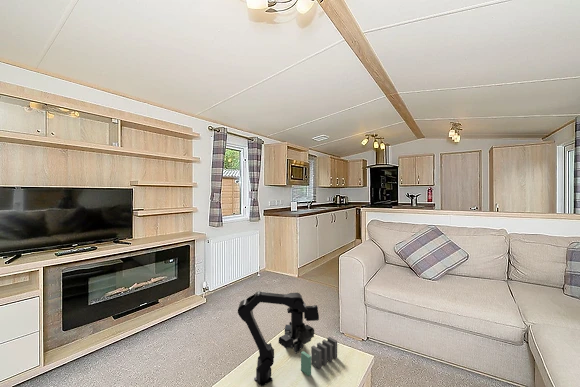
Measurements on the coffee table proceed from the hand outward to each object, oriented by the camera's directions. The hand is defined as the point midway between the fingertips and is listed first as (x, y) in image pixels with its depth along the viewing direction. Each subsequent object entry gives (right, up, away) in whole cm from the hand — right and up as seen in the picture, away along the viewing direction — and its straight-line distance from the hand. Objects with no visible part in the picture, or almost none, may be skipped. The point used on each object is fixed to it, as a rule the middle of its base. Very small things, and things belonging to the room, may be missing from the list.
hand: (297, 353), depth 125 cm
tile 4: (+17, -12, +14) cm, 25 cm away
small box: (-1, -12, +27) cm, 30 cm away
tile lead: (+5, -12, +4) cm, 13 cm away
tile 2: (+10, -12, +9) cm, 18 cm away
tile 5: (+20, -12, +17) cm, 29 cm away
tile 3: (+13, -12, +12) cm, 21 cm away
